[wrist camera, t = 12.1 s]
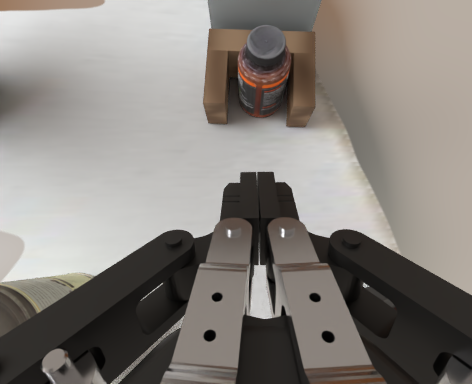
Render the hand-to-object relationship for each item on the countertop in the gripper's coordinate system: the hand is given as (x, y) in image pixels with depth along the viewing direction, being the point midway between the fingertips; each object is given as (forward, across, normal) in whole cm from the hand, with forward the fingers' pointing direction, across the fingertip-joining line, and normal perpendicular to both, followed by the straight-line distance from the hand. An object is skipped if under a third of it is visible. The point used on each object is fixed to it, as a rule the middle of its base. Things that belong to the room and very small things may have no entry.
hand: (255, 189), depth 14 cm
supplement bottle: (+30, -1, +3) cm, 30 cm away
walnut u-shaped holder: (+30, -1, +2) cm, 30 cm away
